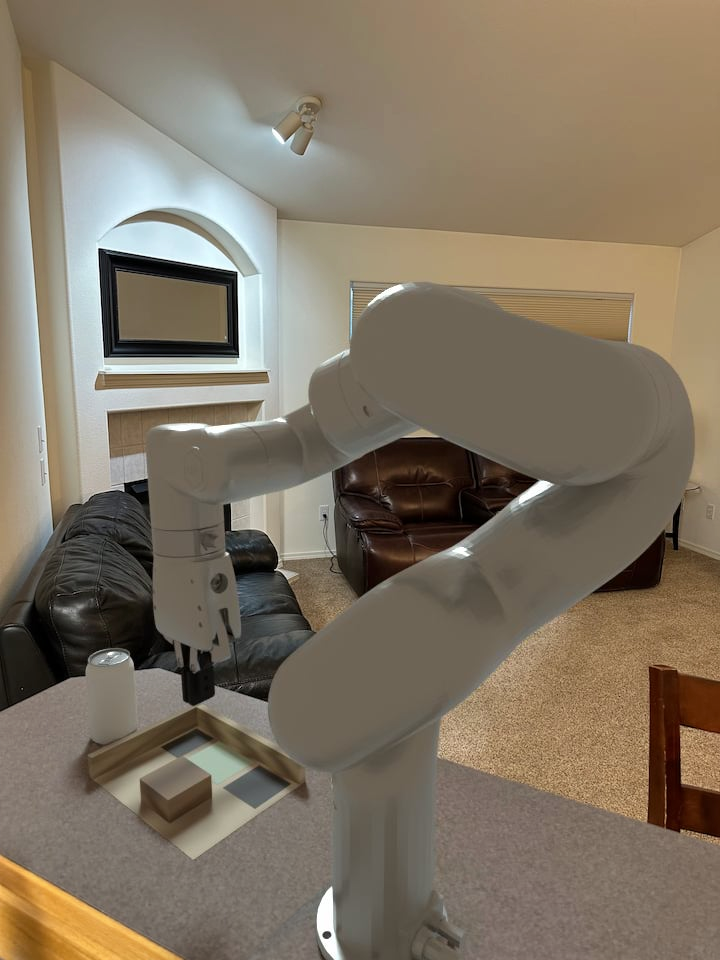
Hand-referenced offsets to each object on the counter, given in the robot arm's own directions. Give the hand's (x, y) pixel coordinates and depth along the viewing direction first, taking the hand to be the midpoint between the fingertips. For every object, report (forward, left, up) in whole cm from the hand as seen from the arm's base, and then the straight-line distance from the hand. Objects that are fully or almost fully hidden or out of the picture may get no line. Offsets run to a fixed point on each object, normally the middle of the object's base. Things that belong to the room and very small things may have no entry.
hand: (199, 698), depth 71 cm
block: (+6, 0, -15) cm, 16 cm away
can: (+26, -3, -16) cm, 31 cm away
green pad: (+8, -8, -16) cm, 20 cm away
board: (+7, -4, -16) cm, 18 cm away
